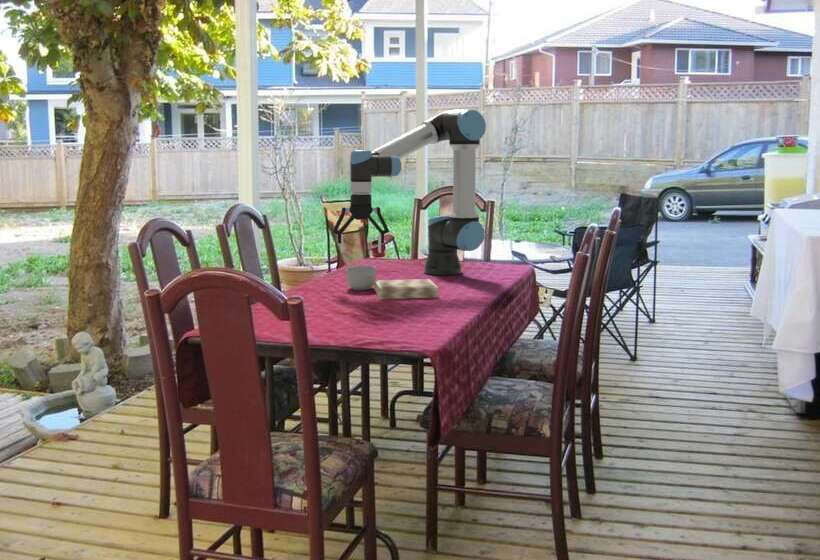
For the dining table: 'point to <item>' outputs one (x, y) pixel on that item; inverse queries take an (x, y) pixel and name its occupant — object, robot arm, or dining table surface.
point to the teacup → (361, 277)
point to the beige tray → (406, 289)
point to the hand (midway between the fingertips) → (360, 252)
